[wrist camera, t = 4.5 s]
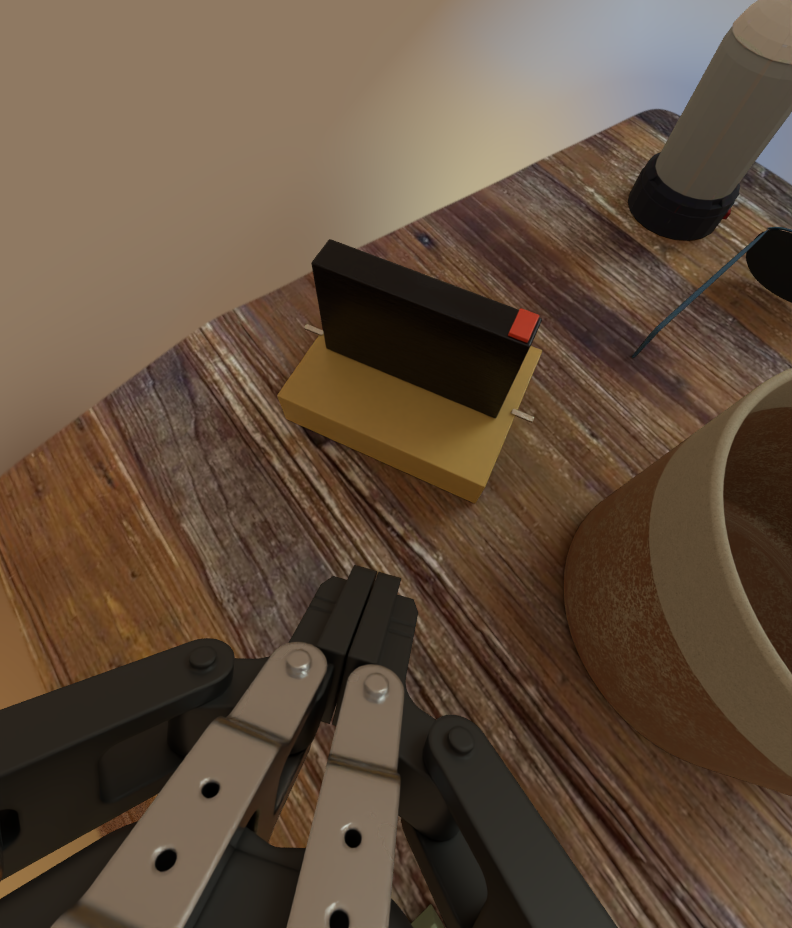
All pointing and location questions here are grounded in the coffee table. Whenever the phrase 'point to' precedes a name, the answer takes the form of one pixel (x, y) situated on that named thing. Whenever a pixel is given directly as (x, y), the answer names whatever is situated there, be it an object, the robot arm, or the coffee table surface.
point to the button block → (428, 919)
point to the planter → (698, 594)
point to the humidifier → (721, 127)
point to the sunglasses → (753, 270)
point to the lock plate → (401, 418)
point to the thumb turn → (421, 327)
